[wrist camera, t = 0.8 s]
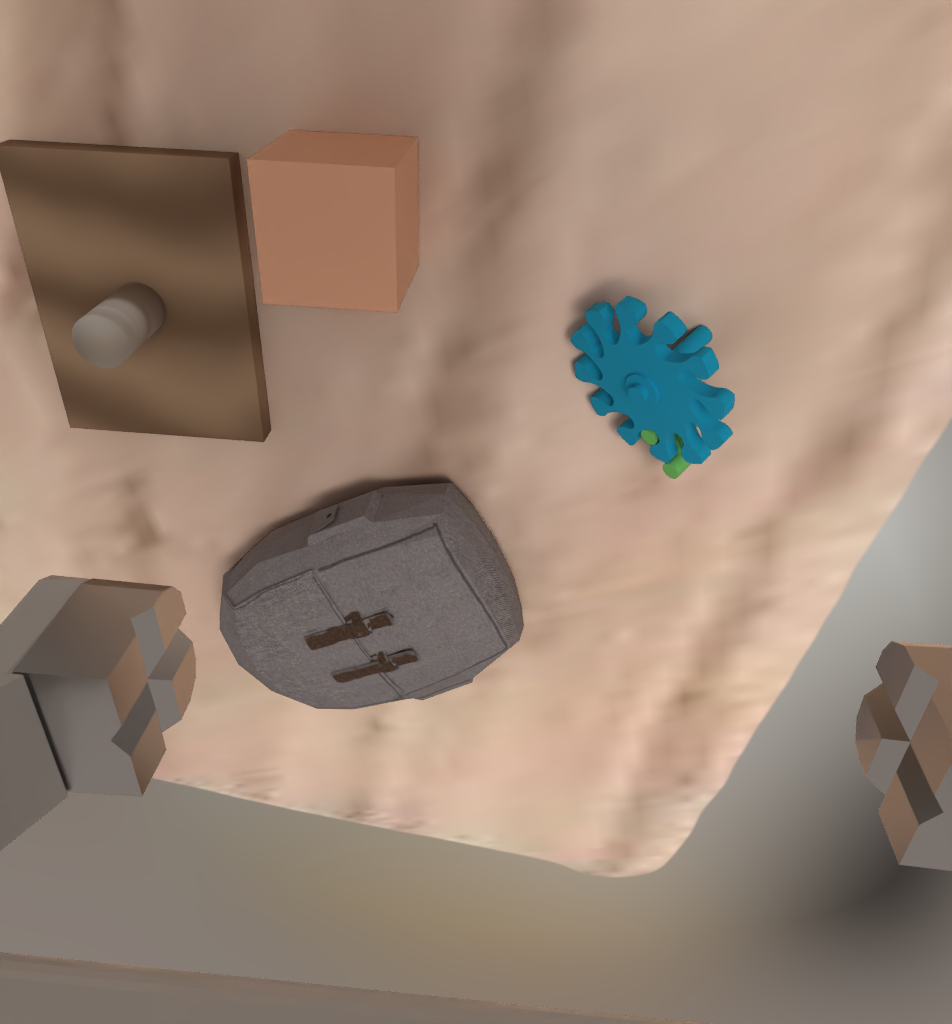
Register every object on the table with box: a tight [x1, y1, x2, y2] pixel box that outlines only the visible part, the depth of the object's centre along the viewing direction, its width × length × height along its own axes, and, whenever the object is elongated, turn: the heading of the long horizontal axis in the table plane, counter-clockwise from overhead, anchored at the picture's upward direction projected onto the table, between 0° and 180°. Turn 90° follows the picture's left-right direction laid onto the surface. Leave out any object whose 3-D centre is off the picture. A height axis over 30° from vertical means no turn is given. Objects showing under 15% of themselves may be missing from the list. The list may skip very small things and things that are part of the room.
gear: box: [571, 296, 735, 479], centre depth 44 cm, size 11×6×10 cm
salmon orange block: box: [247, 130, 418, 313], centre depth 40 cm, size 6×6×7 cm
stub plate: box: [0, 140, 271, 442], centre depth 44 cm, size 16×12×6 cm
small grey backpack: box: [220, 483, 524, 709], centre depth 54 cm, size 15×8×20 cm
